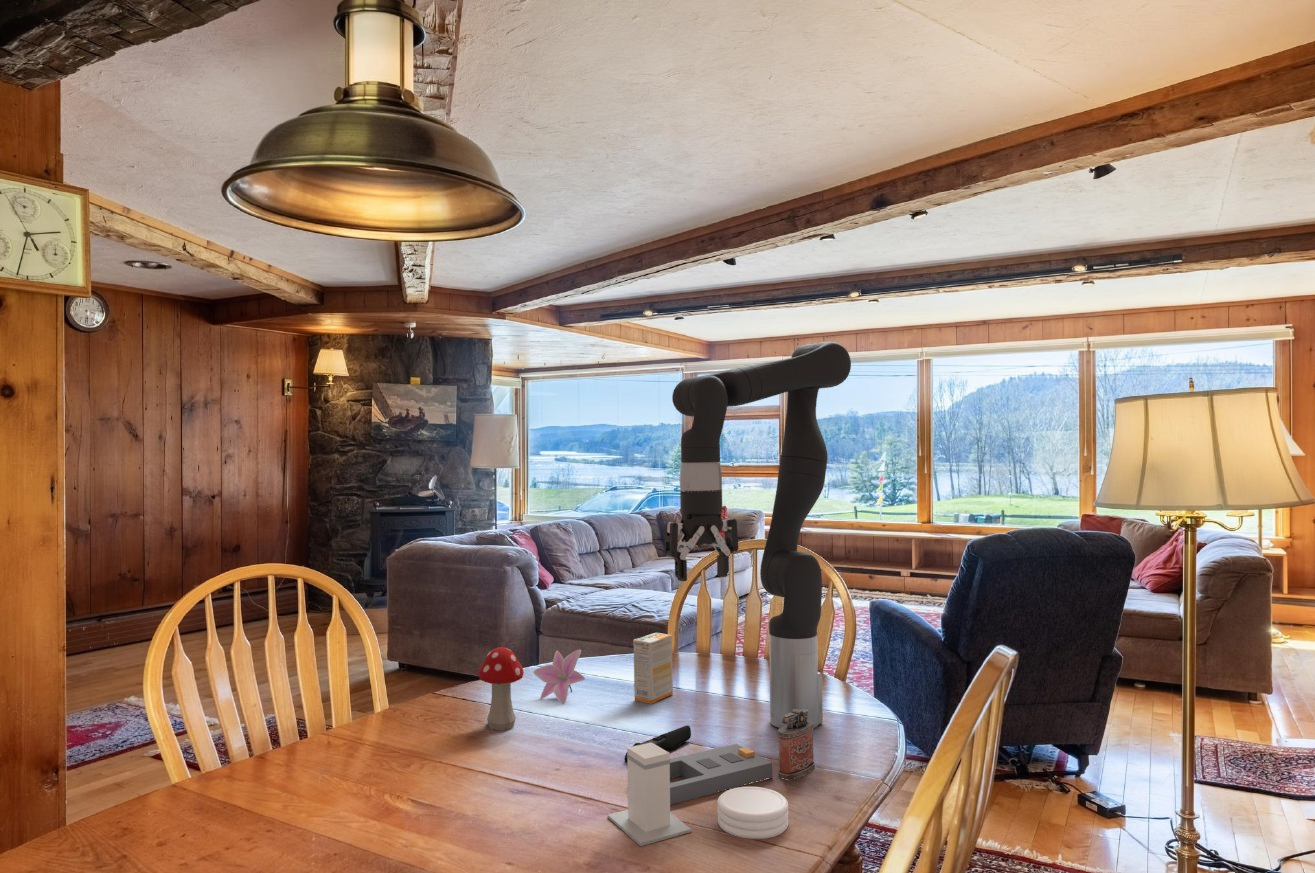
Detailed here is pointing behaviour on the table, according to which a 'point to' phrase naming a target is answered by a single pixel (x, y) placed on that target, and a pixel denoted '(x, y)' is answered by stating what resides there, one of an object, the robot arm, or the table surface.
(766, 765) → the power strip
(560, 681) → the lily
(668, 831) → the rubber mat
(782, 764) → the lighter
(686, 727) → the electric trimmer
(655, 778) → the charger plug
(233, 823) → the table surface
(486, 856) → the table surface
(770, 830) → the white short cylinder
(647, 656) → the supplement box
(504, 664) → the decorative mushroom
